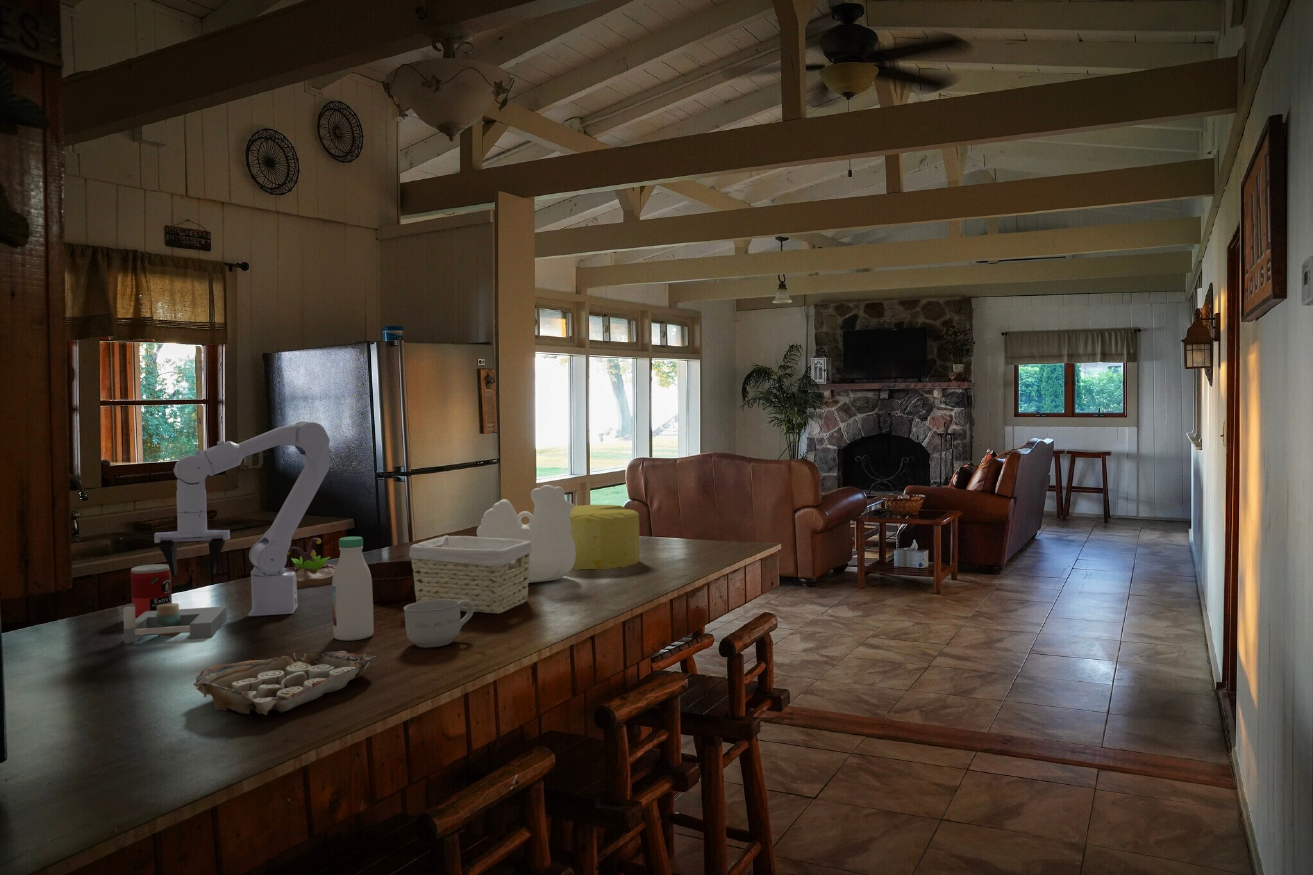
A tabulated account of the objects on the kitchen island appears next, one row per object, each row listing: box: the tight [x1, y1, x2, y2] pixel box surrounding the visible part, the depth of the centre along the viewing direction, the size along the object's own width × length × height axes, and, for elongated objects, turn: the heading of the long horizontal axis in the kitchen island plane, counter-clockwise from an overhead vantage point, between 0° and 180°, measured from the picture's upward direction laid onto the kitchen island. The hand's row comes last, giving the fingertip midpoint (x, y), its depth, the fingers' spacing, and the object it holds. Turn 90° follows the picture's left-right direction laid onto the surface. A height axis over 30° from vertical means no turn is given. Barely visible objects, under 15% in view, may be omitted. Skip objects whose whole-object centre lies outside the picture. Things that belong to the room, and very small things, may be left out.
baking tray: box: [192, 650, 377, 716], centre depth 155 cm, size 30×22×5 cm
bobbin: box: [156, 602, 181, 637], centre depth 192 cm, size 4×4×6 cm
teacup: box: [403, 599, 475, 649], centre depth 183 cm, size 14×11×8 cm
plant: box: [285, 537, 337, 589], centre depth 248 cm, size 20×20×11 cm
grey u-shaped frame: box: [123, 605, 228, 644], centre depth 195 cm, size 16×16×7 cm
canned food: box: [130, 563, 173, 619], centre depth 209 cm, size 8×8×11 cm
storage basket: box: [408, 534, 532, 614], centre depth 215 cm, size 24×16×15 cm
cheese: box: [570, 504, 641, 570], centre depth 268 cm, size 26×26×15 cm
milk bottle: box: [331, 536, 375, 642], centre depth 188 cm, size 8×8×20 cm
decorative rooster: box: [476, 484, 576, 584], centre depth 242 cm, size 25×16×25 cm, turn 75°
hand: (193, 574), depth 202 cm, fingers open, 7 cm apart
